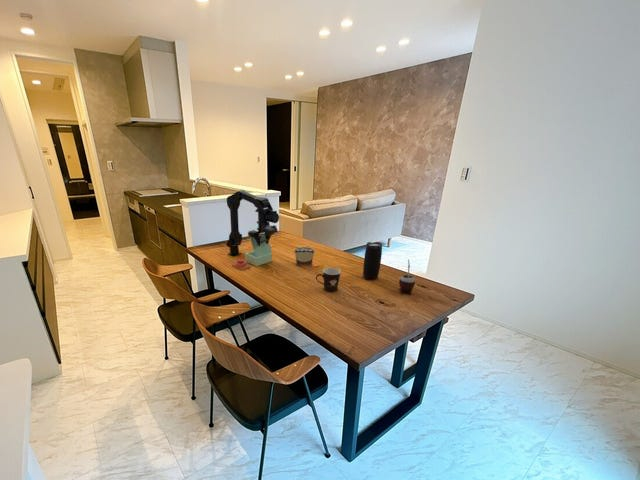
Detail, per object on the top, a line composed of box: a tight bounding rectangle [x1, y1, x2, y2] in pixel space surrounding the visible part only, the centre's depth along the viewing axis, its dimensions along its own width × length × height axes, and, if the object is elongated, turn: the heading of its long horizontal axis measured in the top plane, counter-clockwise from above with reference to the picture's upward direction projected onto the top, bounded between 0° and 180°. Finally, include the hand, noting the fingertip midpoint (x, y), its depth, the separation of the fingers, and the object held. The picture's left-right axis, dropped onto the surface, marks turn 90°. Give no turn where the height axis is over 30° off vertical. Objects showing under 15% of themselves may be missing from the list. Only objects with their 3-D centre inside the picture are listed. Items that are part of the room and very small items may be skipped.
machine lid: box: [249, 233, 273, 257], centre depth 182 cm, size 12×13×5 cm
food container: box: [293, 246, 315, 267], centre depth 183 cm, size 12×6×10 cm, turn 84°
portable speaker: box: [362, 241, 383, 281], centre depth 160 cm, size 9×9×20 cm
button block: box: [232, 260, 251, 271], centre depth 182 cm, size 10×6×3 cm, turn 41°
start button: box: [237, 258, 245, 264], centre depth 181 cm, size 4×4×2 cm
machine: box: [244, 250, 273, 267], centre depth 190 cm, size 12×13×5 cm
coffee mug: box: [315, 267, 342, 293], centre depth 150 cm, size 12×9×10 cm
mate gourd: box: [398, 259, 416, 295], centre depth 145 cm, size 8×8×15 cm
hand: (263, 245), depth 182 cm, fingers closed on machine lid, 6 cm apart
